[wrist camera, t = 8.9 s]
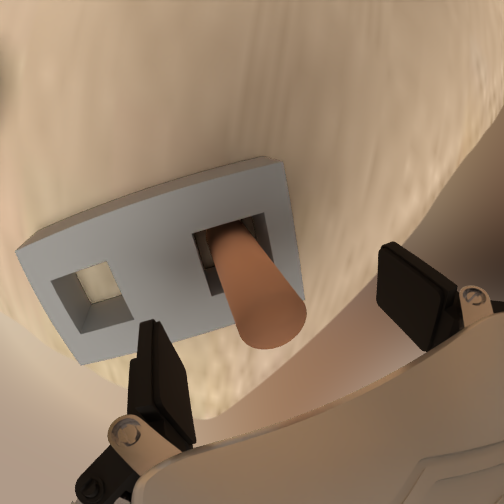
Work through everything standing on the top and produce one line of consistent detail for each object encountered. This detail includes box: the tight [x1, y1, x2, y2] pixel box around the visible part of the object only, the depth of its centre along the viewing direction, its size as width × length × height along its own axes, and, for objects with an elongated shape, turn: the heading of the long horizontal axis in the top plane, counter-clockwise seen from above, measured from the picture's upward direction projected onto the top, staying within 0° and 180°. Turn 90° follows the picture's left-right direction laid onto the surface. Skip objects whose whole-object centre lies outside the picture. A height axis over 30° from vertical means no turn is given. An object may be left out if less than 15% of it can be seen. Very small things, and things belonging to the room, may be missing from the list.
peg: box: [206, 220, 307, 349], centre depth 17 cm, size 3×3×11 cm
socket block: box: [15, 156, 305, 365], centre depth 19 cm, size 18×10×4 cm, turn 102°
